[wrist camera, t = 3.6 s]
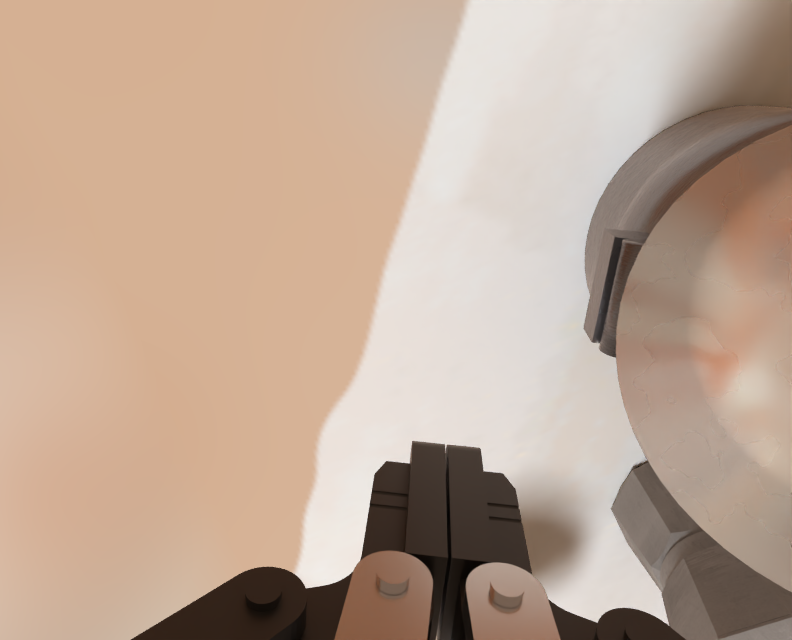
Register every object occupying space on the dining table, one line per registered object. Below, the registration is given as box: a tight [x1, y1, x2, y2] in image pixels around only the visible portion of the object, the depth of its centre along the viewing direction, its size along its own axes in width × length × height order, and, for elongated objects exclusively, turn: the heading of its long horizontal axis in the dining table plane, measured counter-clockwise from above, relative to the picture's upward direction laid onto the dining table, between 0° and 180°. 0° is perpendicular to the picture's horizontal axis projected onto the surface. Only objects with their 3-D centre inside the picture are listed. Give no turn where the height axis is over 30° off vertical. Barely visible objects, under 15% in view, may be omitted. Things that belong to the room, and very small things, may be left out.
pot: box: [584, 105, 792, 343], centre depth 33 cm, size 19×17×12 cm
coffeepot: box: [611, 462, 792, 640], centre depth 38 cm, size 15×9×18 cm, turn 140°
